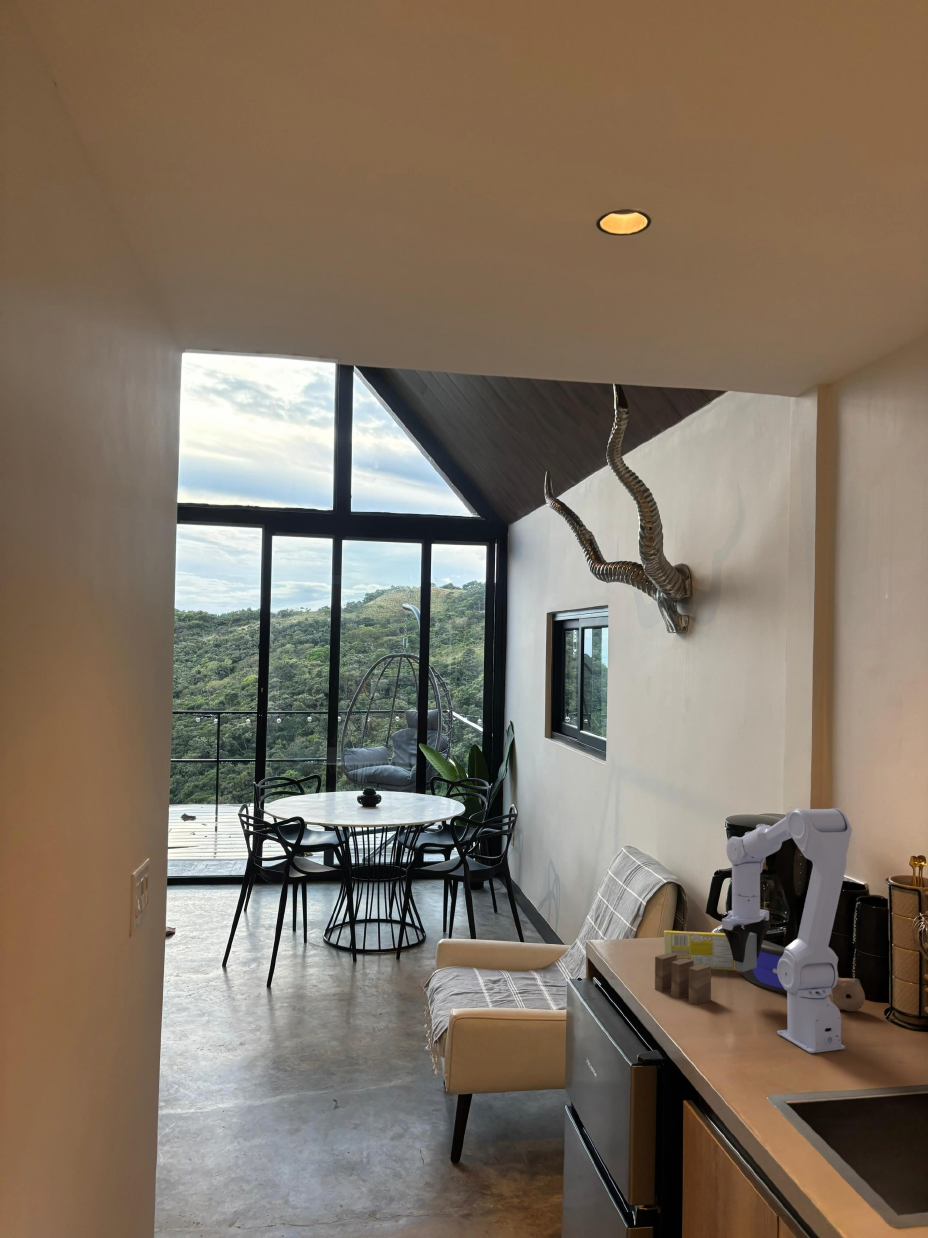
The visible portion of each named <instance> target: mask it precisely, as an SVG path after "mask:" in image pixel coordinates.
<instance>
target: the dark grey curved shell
mask: <svg viewBox="0 0 928 1238" xmlns="http://www.w3.org/2000/svg"><path fill="white" fill-rule="evenodd" d="M784 950H785V947H784V946H782V945H778V944H776V943H774V942H770V941H767V940H764V939H763V942H762V946H761V950H760V954H759V957H758V958H757V968H754V969H751V970H747V971H744V972H742V971H740V973H741V975H742V976H743V978H744V979H746V980H747V981H748V982H750V983H752V984H754V985H755V986H758V987H761V988H763V989H766V990H769V991H772V992H775V993H779V994H783V995H787V990H785V989H784V987H783V986H782V984H781V983H780V981H779V978H778V974H777V966H778V962H779V960H780V958H781V957H782V956H783V954H784Z"/></svg>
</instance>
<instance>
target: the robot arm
mask: <svg viewBox="0 0 928 1238" xmlns="http://www.w3.org/2000/svg"><path fill="white" fill-rule="evenodd" d="M755 827H756V828H755V829H754V830H752V831H747V832H745V833H744V835H743V836H741V837H740V836H739V837H738V836H731V837H730V838H729V839H728V841H727V842H726V850H725V851H726V856H727V858H728V861H729V862H730V863H731V910H728V911H727V916H726V917H724V918H722V919H721V929H722V931H723V933H725V935H726V937H727V939H728V942H729V944H730V948H731V952H732V956H733V960H734V962H735V961H737V962H740V963H743V962H744V958H745V947H746V942H747V938H748V936H749V934H750V932H751V933H755V934H757V958H758V957H759V954H760V950H761V946H762V942H763V940H764V938H765V937H766V934H767V933H768V931H769V930H770V924H769V923H766V922H764V921H769V920H770V911H769V910H766V909H761V873H762V872H763V867H764V863H765V861H766V857H768V856H770V855H773V854H775V853H776V852H778V851H779V850H780V849H781V847H782V844H783V843H784V842H785V841H787V840H789V839H792V840H793V841H794V843H795V845H796V846H797V848H798V849H799V850H800V852H801V854H802V855H803V857H805V859H807V860H809V861H811V862H812V868H811V874H810V879H809V883H808V889H807V892H806V893H807V894H806V897H805V902H804V905H803V906H804V908H803V912H802V915H801V920H800V925H799V930H798V934H797V938H796V939H794V940H793V941H792V942H790V943H789V944H788V945H787V946H785V947H784V948H785V950H784V954H783V956H782V957H781V958H780V960H779V962H778V966H777V974H778V978H779V981H780V983H781V984H782V986H783V987H784V989H785V990H787V994H786V995H787V999H786V1000H787V1004H786V1005H787V1007H786V1008H787V1009H786V1010H787V1013H786V1014H787V1015H786V1016H787V1019H786V1020H787V1023H786V1024H787V1029H781V1030H777V1031H776V1032H777V1034H778V1035H779V1036H781V1037H783V1038H784V1039H785V1040H787V1041H789V1042H791V1043H793V1044H795V1045H796V1046H798V1047H799V1048H801V1049H803V1050H804V1051H806V1052H808V1053H810V1054H816V1053H823V1052H832V1051H837V1050H845V1049H846V1046H845V1045H844V1044H842V1015H841V1012H840V1008H838V1007H837V1006H836V1005H834V1004H833V1003H832V1000H831V999H830V997H829V995H832V993H831V989H832V988H834V987H835V986H836V984H837V980H838V978H839V973H838V972H839V971H838V961H839V957H838V956H837V954H836V953H835V951H834V950H833V949H832V948H831V947H829V944H830V940H831V936H832V930H833V927H834V924H835V923H834V922H835V918H836V913H837V909H838V905H839V900H840V895H841V891H842V886H843V882H844V877H845V872H846V869H847V855H848V849H849V846H850V841H851V836H852V832H853V827H852V826H851V824H850V822H849V820H848V817H847V816H846V814H845V813H844V811H843V810H841V809H840V808H837V807H832V808H811V809H810V808H808V809H806V808H805V809H802V808H794V809H791V811H787V812H786V815H785V816H784V817H783V818H782V819H780V820H779V821H778V822H776V823H775V824H773V825H768V824H765V823H758V824H756V825H755Z"/></svg>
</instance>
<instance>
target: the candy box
mask: <svg viewBox="0 0 928 1238" xmlns="http://www.w3.org/2000/svg"><path fill="white" fill-rule="evenodd" d="M667 953H672V954H675V955H677V960H681V959H684V958H687V959H690V960H694V966H697V965H700V964H706V965H709V966H711V971H713V970H715V971H732V972H733V971H735V961H734V960H733V956H732V952H731V948H730V944H729V942H728V939H727V937H726V935H725V933H724V932H701V931H684V930H682V931H680V930H663V954H667Z"/></svg>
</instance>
